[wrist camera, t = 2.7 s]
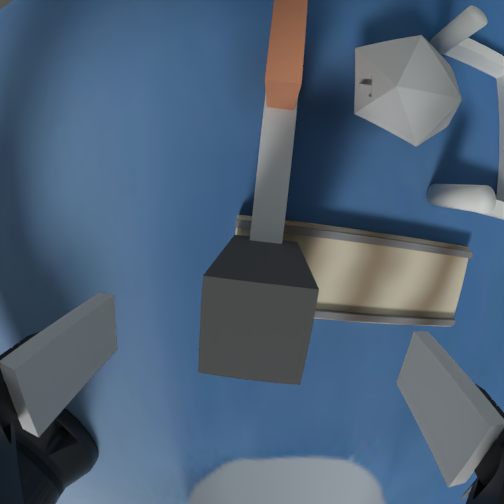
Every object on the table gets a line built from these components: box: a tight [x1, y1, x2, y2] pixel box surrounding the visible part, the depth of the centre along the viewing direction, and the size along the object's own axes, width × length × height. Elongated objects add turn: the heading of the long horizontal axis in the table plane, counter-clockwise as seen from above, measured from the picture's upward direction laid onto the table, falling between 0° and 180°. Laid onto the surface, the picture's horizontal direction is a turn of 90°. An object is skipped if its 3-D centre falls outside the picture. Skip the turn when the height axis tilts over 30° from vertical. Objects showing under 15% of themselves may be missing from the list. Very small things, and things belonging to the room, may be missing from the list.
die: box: [354, 35, 462, 146], centre depth 19 cm, size 8×9×10 cm
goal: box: [427, 5, 504, 220], centre depth 19 cm, size 10×18×8 cm, turn 174°
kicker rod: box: [198, 0, 319, 385], centre depth 18 cm, size 5×22×13 cm, turn 174°
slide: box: [235, 215, 473, 326], centre depth 26 cm, size 22×8×2 cm, turn 84°
